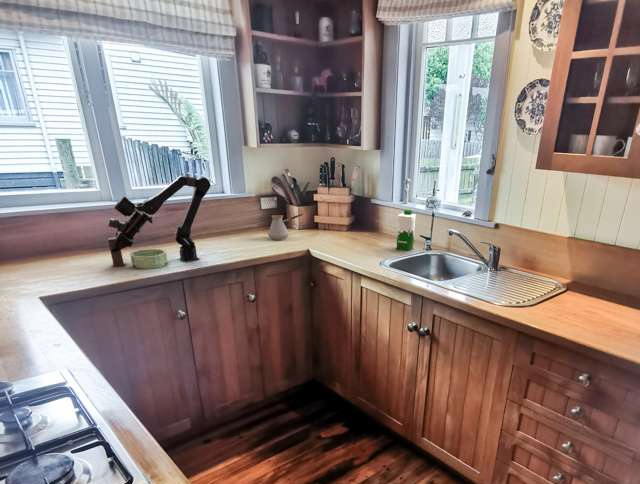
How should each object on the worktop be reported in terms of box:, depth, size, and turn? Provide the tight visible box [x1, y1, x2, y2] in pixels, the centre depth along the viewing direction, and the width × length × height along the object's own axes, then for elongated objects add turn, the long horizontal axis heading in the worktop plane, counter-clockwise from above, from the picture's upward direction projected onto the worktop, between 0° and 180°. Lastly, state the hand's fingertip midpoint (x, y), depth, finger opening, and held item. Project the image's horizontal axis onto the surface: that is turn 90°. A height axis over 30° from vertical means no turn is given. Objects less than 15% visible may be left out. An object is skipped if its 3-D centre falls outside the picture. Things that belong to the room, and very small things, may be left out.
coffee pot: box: [267, 213, 304, 241], centre depth 260 cm, size 21×12×15 cm, turn 78°
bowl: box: [129, 248, 168, 270], centre depth 208 cm, size 15×15×6 cm
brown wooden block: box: [107, 236, 125, 268], centre depth 204 cm, size 4×4×12 cm
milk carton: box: [396, 209, 417, 252], centre depth 248 cm, size 9×9×20 cm
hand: (112, 251), depth 203 cm, fingers closed on brown wooden block, 4 cm apart
